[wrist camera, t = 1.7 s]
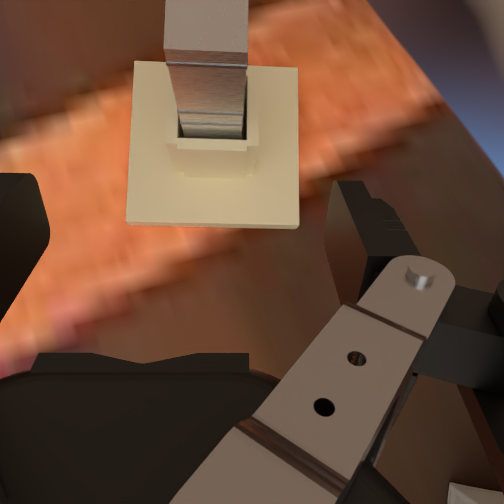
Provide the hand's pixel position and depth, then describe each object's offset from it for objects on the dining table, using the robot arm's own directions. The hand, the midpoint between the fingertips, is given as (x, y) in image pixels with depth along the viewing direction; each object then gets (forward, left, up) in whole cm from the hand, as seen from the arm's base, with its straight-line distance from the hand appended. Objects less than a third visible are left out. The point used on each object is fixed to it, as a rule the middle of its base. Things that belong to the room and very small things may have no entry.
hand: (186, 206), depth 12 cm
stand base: (-2, +11, -24) cm, 27 cm away
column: (-2, +11, -22) cm, 25 cm away
